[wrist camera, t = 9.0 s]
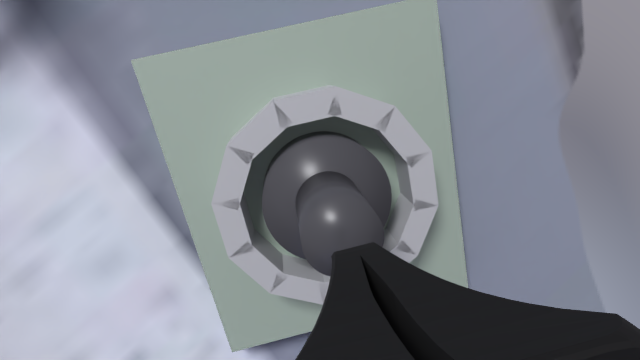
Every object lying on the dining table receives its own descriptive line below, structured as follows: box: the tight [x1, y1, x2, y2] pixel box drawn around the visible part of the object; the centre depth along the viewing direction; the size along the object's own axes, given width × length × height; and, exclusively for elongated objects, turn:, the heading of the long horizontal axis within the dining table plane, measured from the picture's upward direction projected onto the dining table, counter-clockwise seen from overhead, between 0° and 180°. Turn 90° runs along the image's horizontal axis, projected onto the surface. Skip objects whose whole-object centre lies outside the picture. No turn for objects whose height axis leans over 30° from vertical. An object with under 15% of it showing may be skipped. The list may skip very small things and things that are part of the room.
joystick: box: [262, 131, 392, 277], centre depth 16 cm, size 6×6×6 cm
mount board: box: [131, 0, 468, 352], centre depth 19 cm, size 16×14×4 cm
